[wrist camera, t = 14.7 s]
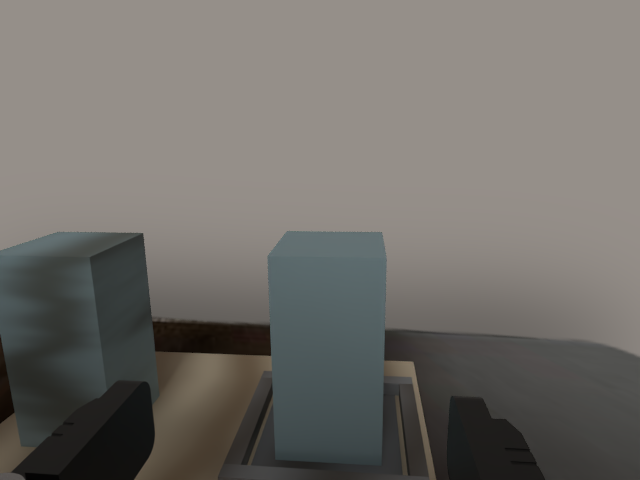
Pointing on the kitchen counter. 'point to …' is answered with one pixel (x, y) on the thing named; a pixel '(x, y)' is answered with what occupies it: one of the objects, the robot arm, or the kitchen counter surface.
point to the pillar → (328, 346)
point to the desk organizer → (158, 372)
